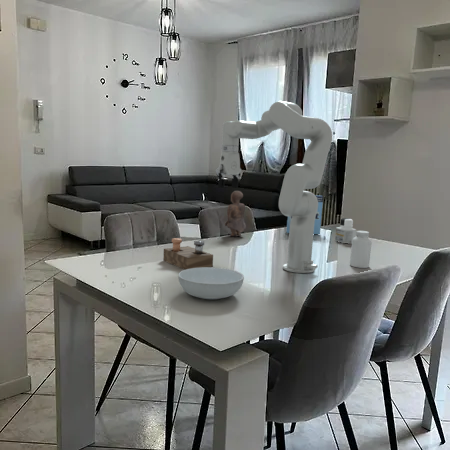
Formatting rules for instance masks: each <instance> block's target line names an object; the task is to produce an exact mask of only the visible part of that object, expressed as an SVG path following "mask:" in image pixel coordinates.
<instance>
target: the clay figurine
mask: <svg viewBox="0 0 450 450" xmlns="http://www.w3.org/2000/svg"><path fill="white" fill-rule="evenodd" d="M243 197H244V194H243V192H242V191H241V190H234V191H233V192H231V194H230V202H231V204H228V206H227V210H226V211H227V220H226V221H225V222H224V223H225V224H224V226H225V227H227V228H228V229H230V232H231V234H230V235H229V237H238V236H239V237H241V236H242V234H241V233H242V232H244V231H245V230H246V228H247V225H246V222H245V213H246V212H245V210H246V204H244V203H241V201H240V200H242V199H243Z"/></svg>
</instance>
